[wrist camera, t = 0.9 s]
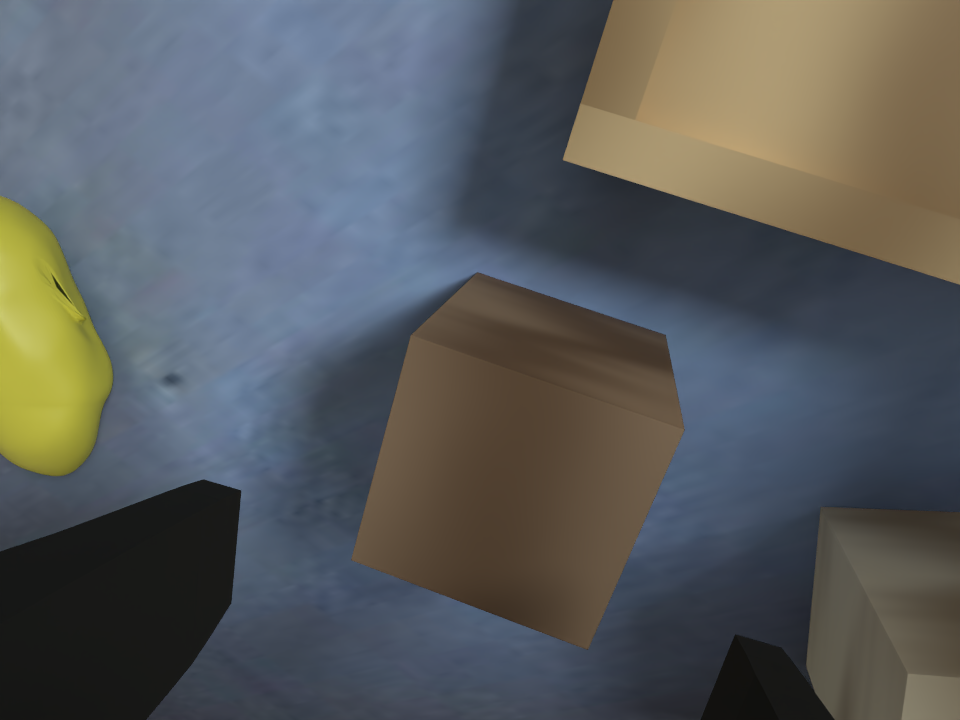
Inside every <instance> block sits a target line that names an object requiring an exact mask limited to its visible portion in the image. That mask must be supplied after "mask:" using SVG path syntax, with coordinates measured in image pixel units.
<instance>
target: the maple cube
mask: <svg viewBox="0 0 960 720" xmlns="http://www.w3.org/2000/svg"><path fill="white" fill-rule="evenodd" d="M806 667H807V670H808V673H809V676H810V679H811V682H812V685H813V688H814V691H815V693H816V694H817V696H818V697H819V699H820V700H821V701H822V703H823V704H824V706H825V707H826V708H827V710H828V711H829V712H830V714H831V715H832V716H833V718H834V719H835V720H960V512H942V511H917V510H891V509H865V508H839V507H821V509H820V519H819V530H818V541H817V552H816V563H815V574H814V585H813V596H812V606H811V617H810V628H809V639H808V650H807V661H806Z"/></svg>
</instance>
